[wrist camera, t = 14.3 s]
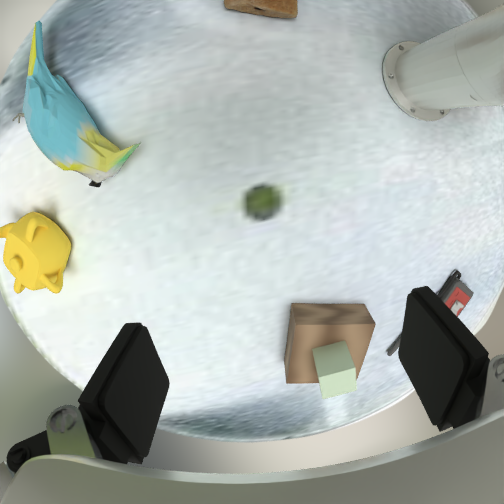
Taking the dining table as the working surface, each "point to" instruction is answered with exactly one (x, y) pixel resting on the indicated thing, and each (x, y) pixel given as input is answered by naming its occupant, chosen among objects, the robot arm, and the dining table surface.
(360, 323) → the walnut box
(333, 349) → the sage block
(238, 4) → the clay spout
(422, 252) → the dining table surface
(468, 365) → the robot arm
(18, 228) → the teapot
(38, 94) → the decorative bird
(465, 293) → the walkie-talkie
